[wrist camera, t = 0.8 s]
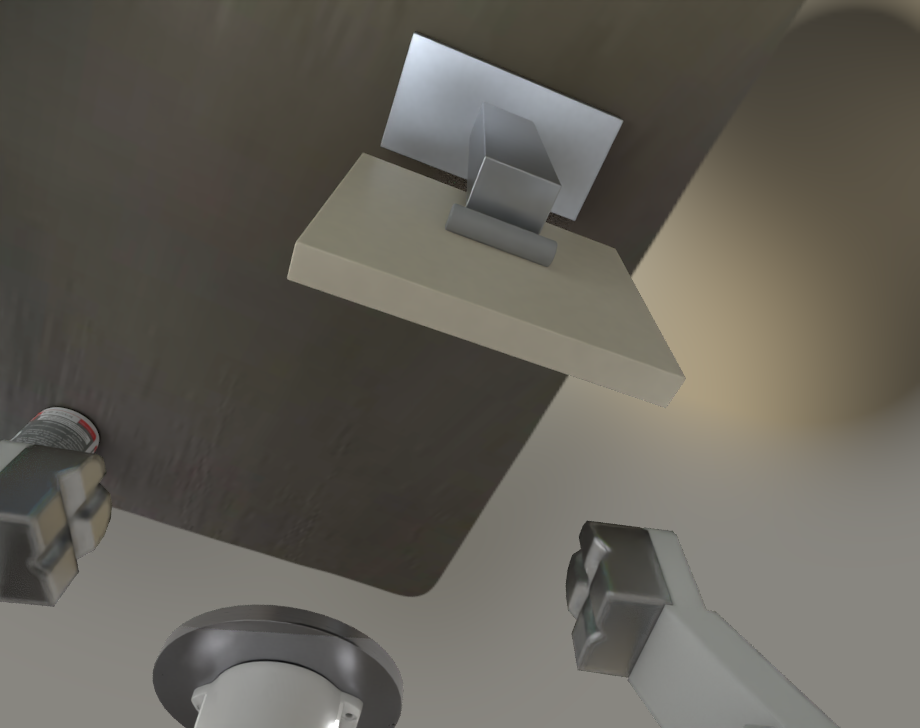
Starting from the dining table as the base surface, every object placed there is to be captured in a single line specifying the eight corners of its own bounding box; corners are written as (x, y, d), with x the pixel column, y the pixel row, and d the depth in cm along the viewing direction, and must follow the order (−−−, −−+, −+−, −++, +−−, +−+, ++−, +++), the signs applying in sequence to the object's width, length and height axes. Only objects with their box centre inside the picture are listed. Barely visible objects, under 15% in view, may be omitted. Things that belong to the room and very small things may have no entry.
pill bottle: (32, 399, 45) (-53, 476, 37) (98, 411, 45) (26, 490, 38) (41, 448, 47) (-37, 529, 40) (104, 459, 47) (37, 541, 40)
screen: (602, 274, 28) (663, 412, 19) (354, 182, 26) (285, 284, 17) (625, 230, 27) (703, 354, 18) (368, 131, 25) (302, 210, 16)
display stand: (572, 216, 36) (618, 323, 24) (382, 143, 35) (331, 219, 23) (620, 117, 33) (699, 183, 22) (415, 30, 32) (376, 50, 20)
